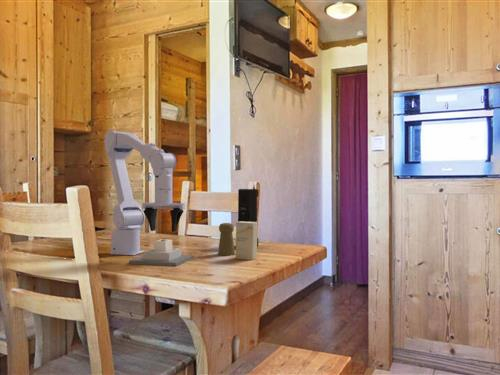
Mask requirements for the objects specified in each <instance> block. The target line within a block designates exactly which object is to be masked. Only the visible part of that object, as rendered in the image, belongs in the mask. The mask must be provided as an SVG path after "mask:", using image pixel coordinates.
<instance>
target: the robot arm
mask: <svg viewBox="0 0 500 375" xmlns="http://www.w3.org/2000/svg"><path fill="white" fill-rule="evenodd" d="M103 142H104V147H105V152H106V155H107V157H108V161H109V166H110V171H111V175H112V179H113V183H114V188H115V192H116V197H117V202H118V203H117V204H116V205H115V206H114V208H113V209H112V212H113V214H112V215H113V216H112V217H113V218H112V221H113V225H115V227H116V228H115V229H113V230H112V231H111V236H110V242H111V243H110V247H111V248H110V253H109V255H121V256H123V255H124V256H135V255H139V254H143V251H145V250H144V249H143V250H141V240H140V239H141V229H142V228H143V225H144V223H145V222H146V220H147V222H148V225H149V229H150V231H151V232H154V231H156V229H157V222H156V220H157V214H158V210H170V211H169V213H170V219H171V232H172V233H174V232H177V231H178V226H179V221H180V219H181V217H182V215H183V213H184V210H185V209H186V203H185V202H184V203H183V202H173V170H175V168H176V166H177V159H176V156H175V155H174V154H173V152H168V153H166V152H165V150H164V149H163V148H159V147H158V146H156V145H157V144H156V143H155V142H148V143H145V141H143V140H142V139H140V138H139V137H138V135H137V134H136V133H134V132H128V131H127V132H126V131H119V130H111V129H110V130H108V131H107V132H106V134H105V137H104V140H103ZM133 150H136V151H138V153H139V156H140V157H141V159H143V160H144V161H146V162H148V163H149V164H150V167H151V169H152V174H153V176H154V202H141V204H140V203H139V202H137V201H136V200H135V199H134V196H133V192H132V187H131V183H130V178H129V174H128V173H129V172H128V169H127V165H126V160H125V159H126V158H128V157H130V155H131V154H132V152H133ZM143 209H144V210H143Z"/></svg>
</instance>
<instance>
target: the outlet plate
mask: <svg viewBox="0 0 500 375" xmlns="http://www.w3.org/2000/svg"><path fill="white" fill-rule="evenodd" d="M194 259H195V254H182V248H179V247H178V248H177V247H175V248H174V247H172V251H170V252H154V247H153V248H150V249H148V250H144V251H143V252H142V256H138V257H135V258H132V259H129V260H128V264H132V265H148V266H150V265H151V266H166V267H167V266H169V267H177V266H180V265H182V264H184V263H186V262H188V261H191V260H194Z"/></svg>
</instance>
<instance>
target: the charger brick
mask: <svg viewBox="0 0 500 375" xmlns="http://www.w3.org/2000/svg"><path fill="white" fill-rule="evenodd" d="M153 248H154V252H170V251H172V248H173V239H162V238H160V239H158V240H154V241H153Z"/></svg>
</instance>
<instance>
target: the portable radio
mask: <svg viewBox="0 0 500 375" xmlns="http://www.w3.org/2000/svg"><path fill="white" fill-rule="evenodd" d="M237 192H238V194H237V200H238V202H237V204H238V205H237V207H238V208H237V210H238V211H237V222H240V221H244V222H257V223H258V197H259V189H258V188H256V187H255V186H253V187H252V188H238V191H237ZM258 247H259V238H258V237H257V248H258Z"/></svg>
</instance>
